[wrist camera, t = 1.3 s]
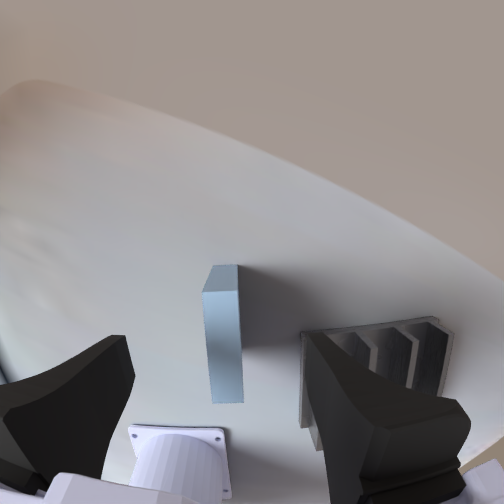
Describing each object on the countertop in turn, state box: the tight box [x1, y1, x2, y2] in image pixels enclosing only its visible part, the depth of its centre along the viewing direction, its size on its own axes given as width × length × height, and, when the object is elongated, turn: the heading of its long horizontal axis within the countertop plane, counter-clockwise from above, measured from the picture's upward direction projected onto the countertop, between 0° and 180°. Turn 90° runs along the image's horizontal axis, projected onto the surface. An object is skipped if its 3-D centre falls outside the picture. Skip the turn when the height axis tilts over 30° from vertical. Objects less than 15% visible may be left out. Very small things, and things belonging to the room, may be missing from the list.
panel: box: [202, 265, 244, 404], centre depth 18 cm, size 6×2×7 cm, turn 2°
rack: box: [299, 316, 454, 451], centre depth 21 cm, size 8×11×4 cm
